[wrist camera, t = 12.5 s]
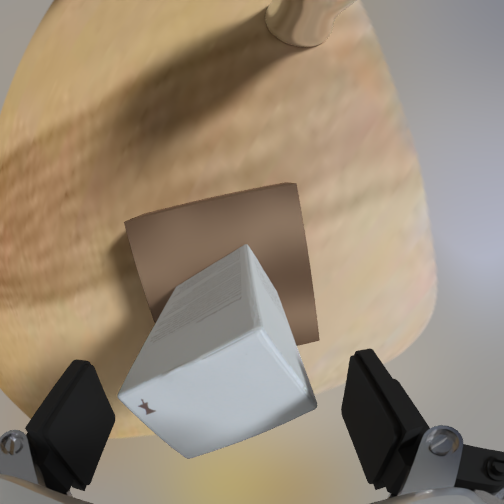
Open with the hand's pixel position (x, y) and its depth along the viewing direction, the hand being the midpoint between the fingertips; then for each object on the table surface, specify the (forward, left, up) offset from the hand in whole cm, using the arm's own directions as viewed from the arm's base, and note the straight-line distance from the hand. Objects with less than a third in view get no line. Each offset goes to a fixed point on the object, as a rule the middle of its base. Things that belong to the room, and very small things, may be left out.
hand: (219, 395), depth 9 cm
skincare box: (0, 0, -12) cm, 12 cm away
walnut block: (0, 0, -16) cm, 16 cm away
